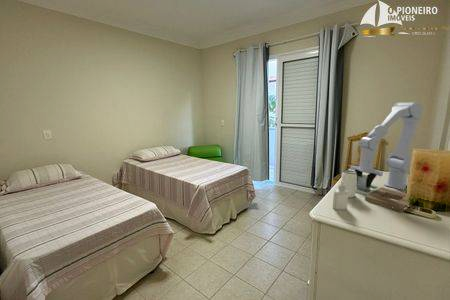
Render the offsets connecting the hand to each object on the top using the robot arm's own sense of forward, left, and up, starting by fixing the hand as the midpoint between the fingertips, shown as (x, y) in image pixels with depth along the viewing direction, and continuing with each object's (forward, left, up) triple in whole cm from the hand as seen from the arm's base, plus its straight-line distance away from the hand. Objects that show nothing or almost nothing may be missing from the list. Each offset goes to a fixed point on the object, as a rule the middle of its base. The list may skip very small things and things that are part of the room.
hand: (363, 185), depth 108 cm
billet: (0, 0, -2) cm, 2 cm away
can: (+14, -1, -2) cm, 14 cm away
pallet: (+4, +14, -2) cm, 14 cm away
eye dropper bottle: (+30, +4, -2) cm, 30 cm away
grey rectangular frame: (0, 0, -2) cm, 2 cm away
